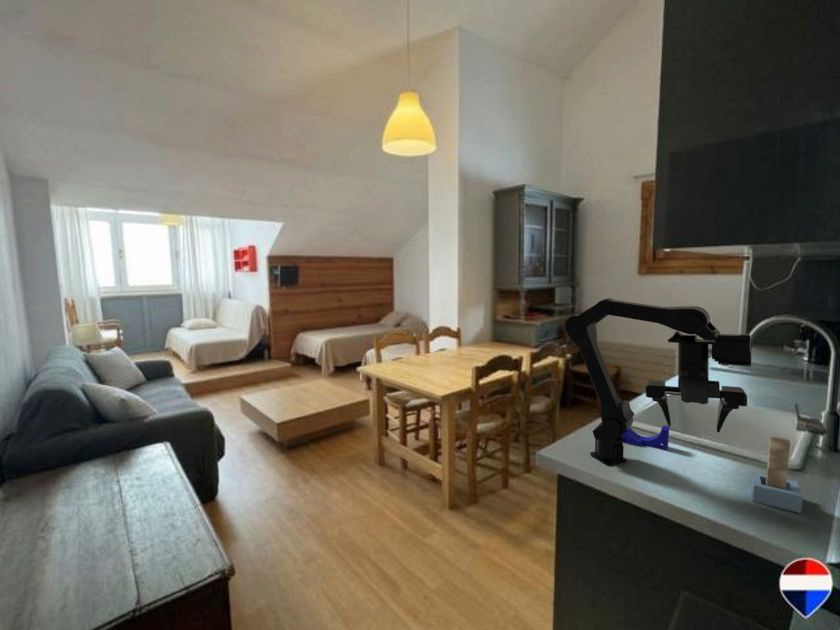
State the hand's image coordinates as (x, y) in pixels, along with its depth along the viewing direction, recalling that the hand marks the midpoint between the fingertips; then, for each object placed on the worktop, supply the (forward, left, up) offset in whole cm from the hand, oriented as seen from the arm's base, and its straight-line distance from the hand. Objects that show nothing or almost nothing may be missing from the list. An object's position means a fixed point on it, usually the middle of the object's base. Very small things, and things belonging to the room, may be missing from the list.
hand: (693, 428), depth 92 cm
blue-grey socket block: (+11, +10, -13) cm, 20 cm away
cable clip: (-19, +6, -13) cm, 24 cm away
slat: (+11, +10, -12) cm, 19 cm away
